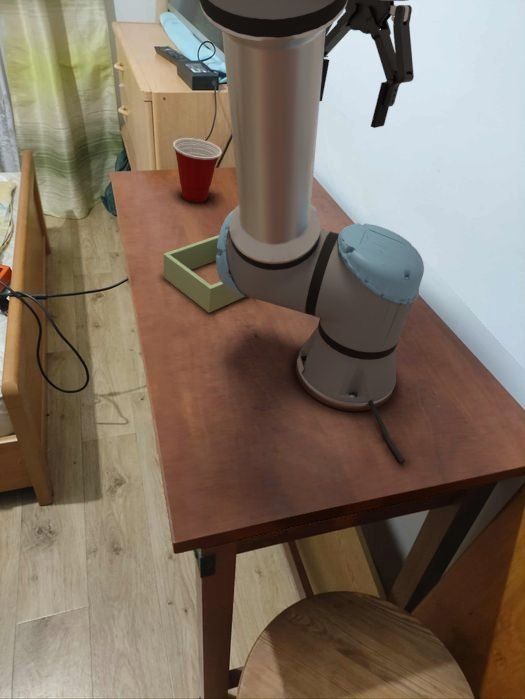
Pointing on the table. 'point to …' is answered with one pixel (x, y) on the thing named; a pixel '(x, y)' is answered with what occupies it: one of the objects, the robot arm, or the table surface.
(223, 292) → the frame
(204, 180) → the plastic cup
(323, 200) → the table surface
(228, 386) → the table surface
